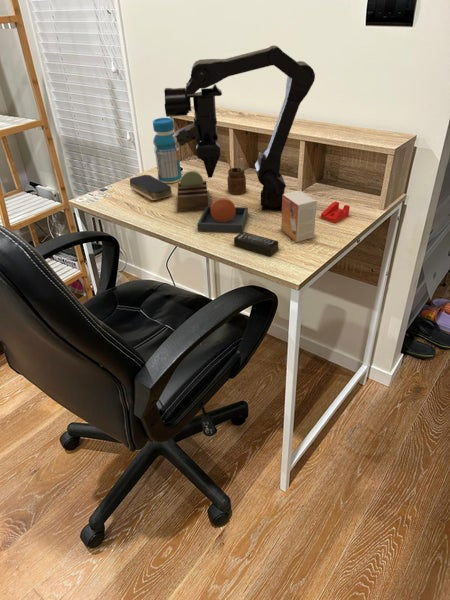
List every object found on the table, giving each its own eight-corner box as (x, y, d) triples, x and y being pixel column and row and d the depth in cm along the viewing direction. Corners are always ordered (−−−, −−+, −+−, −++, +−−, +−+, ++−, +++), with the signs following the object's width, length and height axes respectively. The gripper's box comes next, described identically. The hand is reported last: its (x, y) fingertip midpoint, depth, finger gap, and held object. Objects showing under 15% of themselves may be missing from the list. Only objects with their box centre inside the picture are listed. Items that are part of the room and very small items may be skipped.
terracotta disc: (235, 219, 129) (234, 196, 125) (236, 221, 128) (235, 198, 124) (211, 221, 129) (209, 198, 125) (211, 223, 128) (209, 200, 124)
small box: (280, 230, 123) (281, 193, 117) (298, 225, 125) (300, 189, 119) (296, 242, 117) (297, 205, 111) (314, 237, 119) (317, 200, 113)
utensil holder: (240, 196, 144) (239, 158, 137) (223, 192, 146) (221, 155, 139) (249, 189, 148) (248, 152, 140) (232, 186, 150) (231, 150, 143)
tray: (248, 214, 132) (247, 207, 131) (242, 233, 123) (242, 225, 122) (206, 213, 134) (206, 206, 133) (198, 231, 125) (197, 223, 124)
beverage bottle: (167, 186, 154) (159, 125, 142) (153, 180, 159) (144, 120, 147) (187, 179, 158) (181, 119, 146) (172, 173, 163) (165, 115, 152)
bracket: (334, 210, 131) (335, 201, 130) (348, 215, 128) (349, 205, 127) (320, 218, 128) (321, 208, 126) (334, 223, 125) (335, 213, 123)
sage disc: (203, 191, 143) (202, 169, 139) (204, 192, 142) (202, 171, 138) (181, 193, 143) (179, 171, 139) (181, 194, 142) (179, 172, 138)
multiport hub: (270, 256, 112) (270, 248, 111) (233, 245, 118) (233, 238, 116) (278, 249, 115) (279, 241, 114) (243, 238, 120) (242, 231, 119)
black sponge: (128, 189, 153) (126, 179, 151) (150, 182, 157) (148, 172, 155) (152, 204, 142) (151, 193, 140) (175, 196, 146) (174, 185, 144)
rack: (208, 194, 146) (207, 180, 144) (210, 210, 136) (209, 195, 133) (178, 196, 146) (176, 182, 143) (177, 212, 136) (175, 198, 133)
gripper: (175, 107, 127) (181, 162, 136) (173, 125, 112) (180, 186, 121) (215, 105, 127) (218, 160, 137) (218, 122, 112) (222, 183, 121)
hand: (209, 171), depth 129 cm, fingers open, 9 cm apart
